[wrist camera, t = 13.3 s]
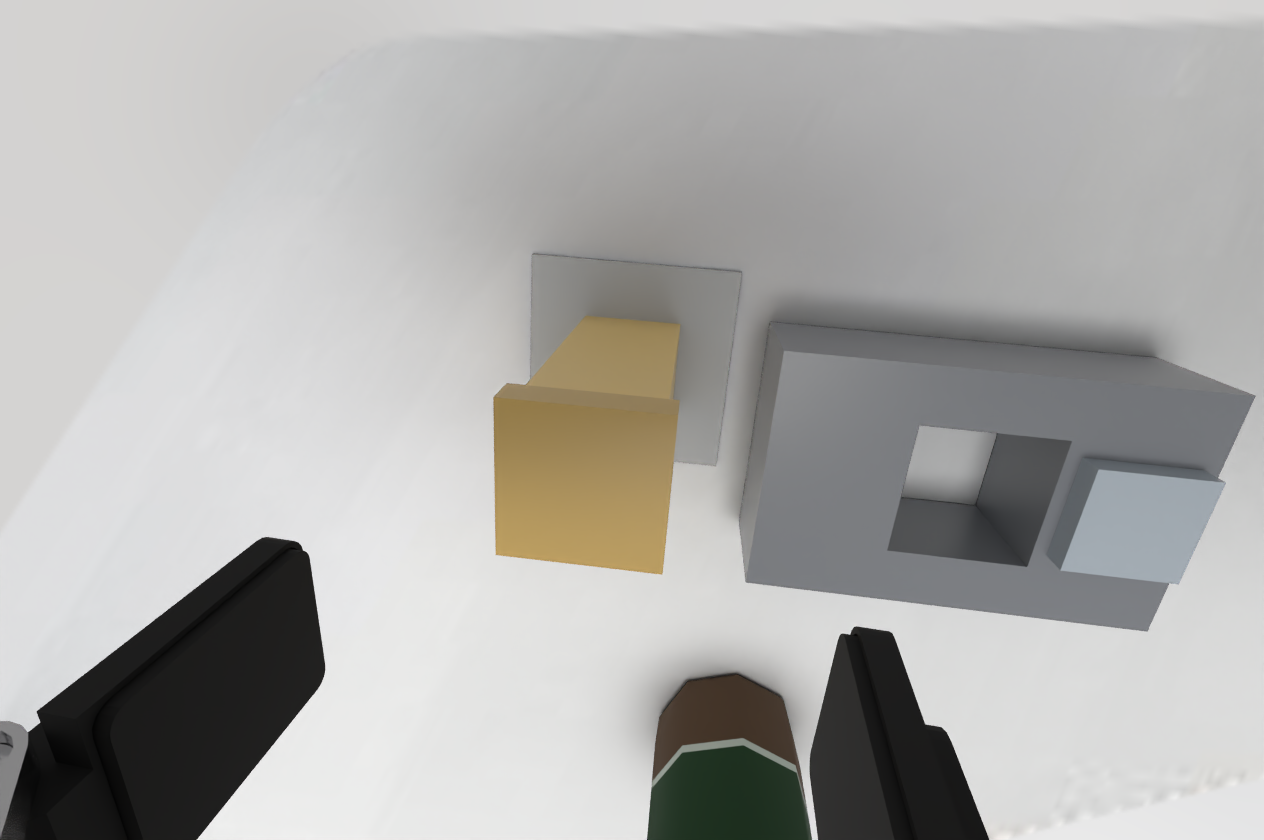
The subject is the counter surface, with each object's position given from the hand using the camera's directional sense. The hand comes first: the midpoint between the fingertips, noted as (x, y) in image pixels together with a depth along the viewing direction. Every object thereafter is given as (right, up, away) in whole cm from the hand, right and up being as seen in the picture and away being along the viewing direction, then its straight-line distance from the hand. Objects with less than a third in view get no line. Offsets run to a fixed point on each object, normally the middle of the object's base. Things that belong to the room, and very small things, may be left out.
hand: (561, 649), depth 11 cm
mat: (+1, +7, +18) cm, 19 cm away
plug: (+1, +6, +17) cm, 19 cm away
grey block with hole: (+15, +3, +18) cm, 23 cm away
